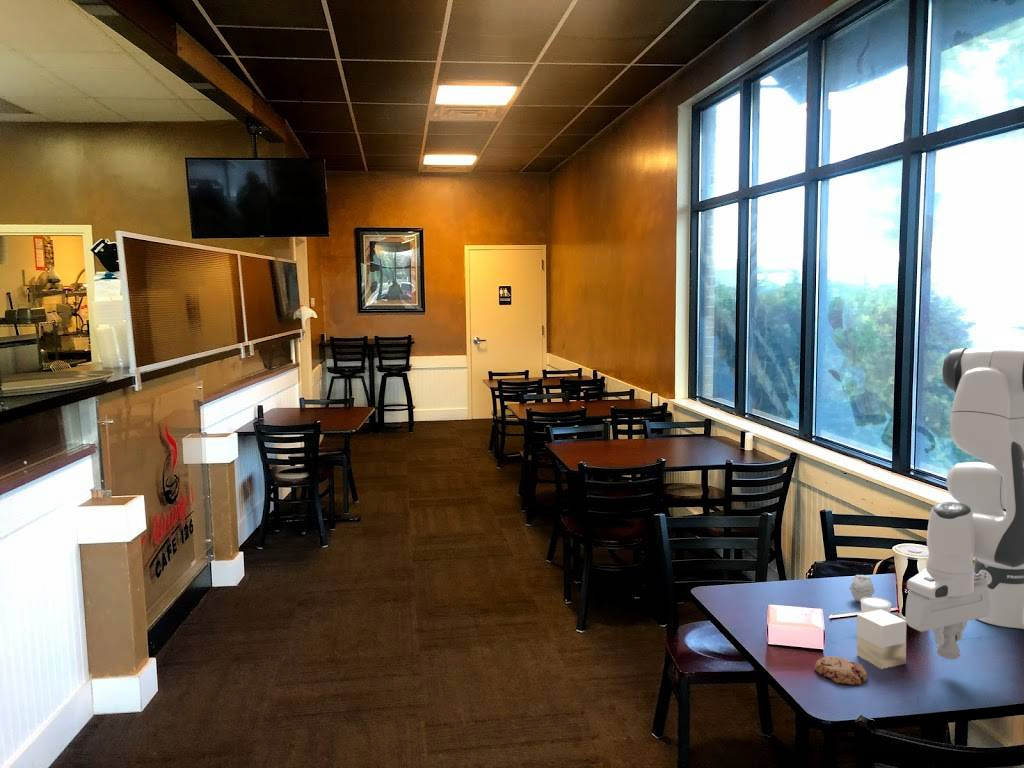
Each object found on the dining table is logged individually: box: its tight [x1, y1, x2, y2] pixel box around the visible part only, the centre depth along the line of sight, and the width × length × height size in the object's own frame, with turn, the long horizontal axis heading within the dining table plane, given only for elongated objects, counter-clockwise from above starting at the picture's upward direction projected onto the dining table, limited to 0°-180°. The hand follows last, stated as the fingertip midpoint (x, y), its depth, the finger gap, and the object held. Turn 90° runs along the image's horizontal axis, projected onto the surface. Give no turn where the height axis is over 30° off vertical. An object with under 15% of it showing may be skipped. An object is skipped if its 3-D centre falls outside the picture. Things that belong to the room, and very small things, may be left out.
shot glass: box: [860, 596, 892, 614], centre depth 186 cm, size 7×7×7 cm
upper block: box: [856, 609, 907, 648], centre depth 170 cm, size 7×7×5 cm
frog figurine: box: [849, 574, 875, 603], centre depth 203 cm, size 6×7×7 cm
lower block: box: [856, 635, 907, 670], centre depth 170 cm, size 7×7×5 cm
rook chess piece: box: [935, 624, 961, 660], centre depth 162 cm, size 4×4×8 cm
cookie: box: [814, 656, 868, 685], centre depth 164 cm, size 10×11×3 cm
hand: (948, 642), depth 162 cm, fingers closed on rook chess piece, 3 cm apart
